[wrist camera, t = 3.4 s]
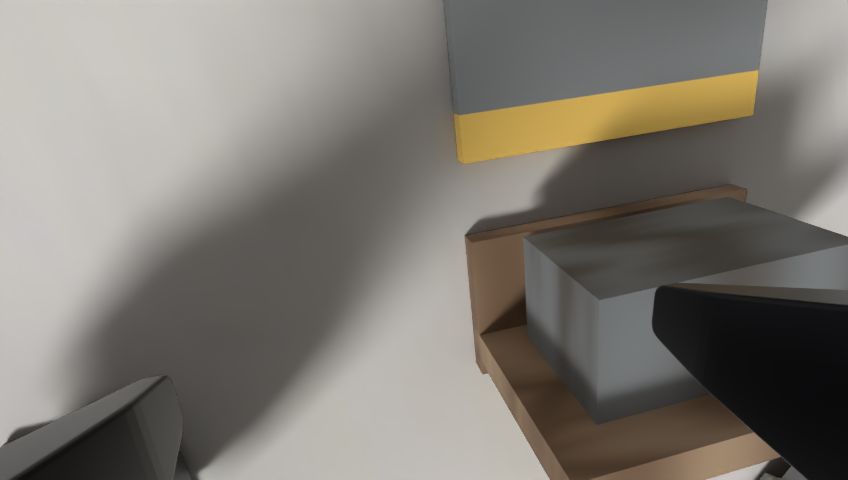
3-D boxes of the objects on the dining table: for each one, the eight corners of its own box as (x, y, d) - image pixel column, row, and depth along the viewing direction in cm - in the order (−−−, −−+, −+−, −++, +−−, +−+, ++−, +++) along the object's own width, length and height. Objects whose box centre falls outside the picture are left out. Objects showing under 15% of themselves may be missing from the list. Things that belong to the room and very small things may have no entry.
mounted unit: (476, 362, 25) (572, 535, 16) (464, 230, 23) (571, 348, 14) (717, 305, 28) (920, 429, 19) (731, 179, 25) (977, 251, 16)
